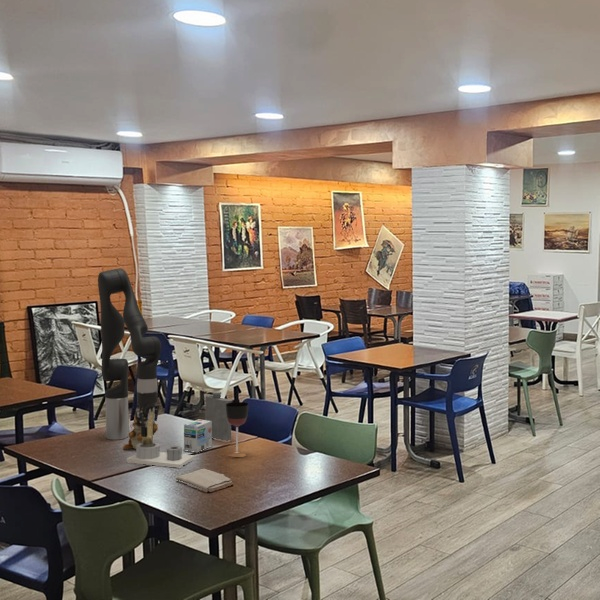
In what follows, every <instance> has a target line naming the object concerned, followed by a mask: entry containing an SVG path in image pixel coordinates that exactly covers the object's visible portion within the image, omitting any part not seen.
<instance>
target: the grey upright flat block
mask: <svg viewBox="0 0 600 600" xmlns="http://www.w3.org/2000/svg"><path fill="white" fill-rule="evenodd" d="M221 396H222V391H213V392H212V394H205V398H204V399H205V401H204V402H205V404H204V405H205V411H204V412H205V419H204V420H207V421H212V437H213V438H216V439H221V440H226V441H228V440H231V441H232V424H230V423H229V422H228V419H227V414H226V404H227V403H232V399H229V398H225V397H221Z"/></svg>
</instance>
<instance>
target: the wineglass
mask: <svg viewBox="0 0 600 600" xmlns="http://www.w3.org/2000/svg"><path fill="white" fill-rule="evenodd" d="M248 412H249V403H248V402H243V401H233V402H232V401H231V403H227V404H226V414H227V419H228V422H229V423H230V424H231V426H233V427H235V453H239V427H240V426H242V425H244V424H245V423H246V422H247V419H248Z"/></svg>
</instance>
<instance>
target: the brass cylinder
mask: <svg viewBox="0 0 600 600" xmlns="http://www.w3.org/2000/svg"><path fill="white" fill-rule="evenodd" d="M143 418H144V419H146V418H147V417H143ZM144 423H145V421H144ZM153 442H154V435H153V412H151V413H150V418H149V421H148V424H147V437H142V444H143V445H151V444H153Z"/></svg>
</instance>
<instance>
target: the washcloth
mask: <svg viewBox="0 0 600 600" xmlns="http://www.w3.org/2000/svg"><path fill="white" fill-rule="evenodd" d="M176 480H178V481H179V480H180V481H183V482H186V483H189V484H192V485H194V486H197V487H199V488H202V489H205V490H209V489H214V488H217V487H220V486H223V485H225V484H229V483H232V484H233V481H232V478H229V477H228V476H226V475H225V474H224V473H219V472H217V471H213V470H209V469H207V468H201V469H197V470H195V471H192V472H190V473H185V474H182V475H181V474H180V475H178V476H177V477H176V479H175V481H176Z"/></svg>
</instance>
